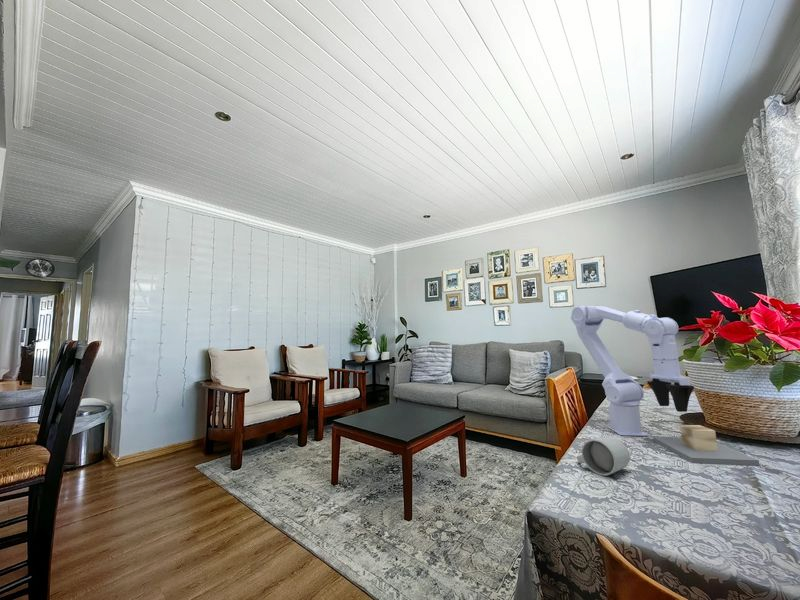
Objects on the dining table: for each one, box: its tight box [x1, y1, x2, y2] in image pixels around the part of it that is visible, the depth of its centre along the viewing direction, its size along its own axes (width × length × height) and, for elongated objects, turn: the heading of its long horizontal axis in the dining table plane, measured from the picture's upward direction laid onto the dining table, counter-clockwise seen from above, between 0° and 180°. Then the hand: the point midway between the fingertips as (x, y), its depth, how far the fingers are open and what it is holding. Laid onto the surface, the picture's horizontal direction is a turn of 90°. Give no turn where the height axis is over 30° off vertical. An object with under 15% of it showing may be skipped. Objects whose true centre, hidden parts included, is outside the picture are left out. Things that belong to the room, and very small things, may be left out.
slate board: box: [652, 436, 760, 466], centre depth 85 cm, size 16×14×1 cm
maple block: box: [679, 424, 718, 451], centre depth 85 cm, size 5×5×5 cm
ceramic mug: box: [576, 436, 631, 477], centre depth 77 cm, size 11×8×8 cm
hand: (672, 408), depth 90 cm, fingers open, 7 cm apart
